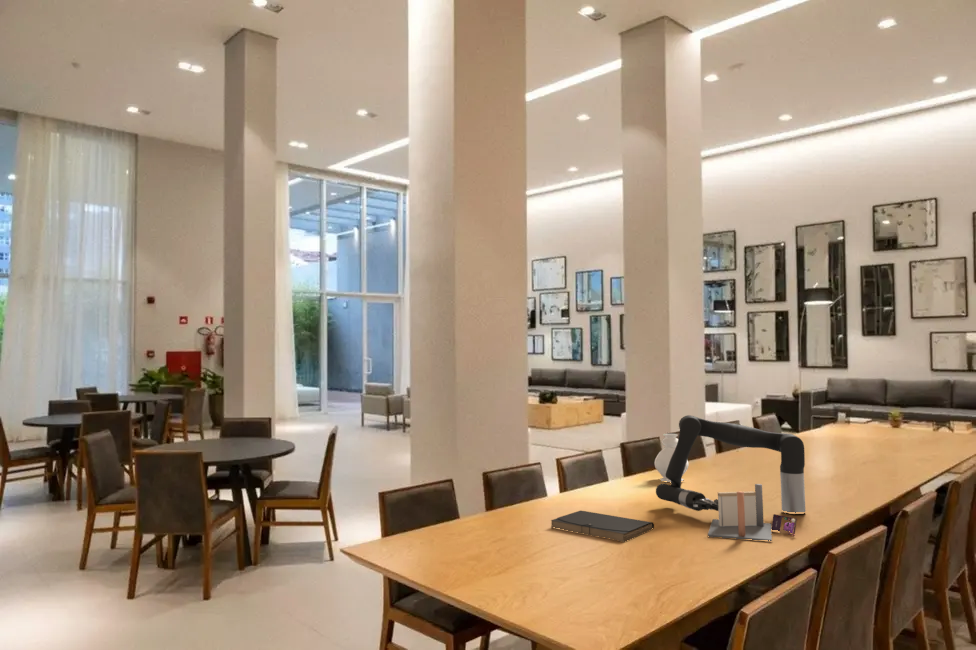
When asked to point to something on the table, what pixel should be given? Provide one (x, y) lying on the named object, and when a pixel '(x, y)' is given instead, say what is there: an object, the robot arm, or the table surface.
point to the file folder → (602, 525)
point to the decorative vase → (667, 455)
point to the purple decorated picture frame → (787, 526)
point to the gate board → (734, 531)
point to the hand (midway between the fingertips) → (720, 508)
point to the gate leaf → (736, 508)
